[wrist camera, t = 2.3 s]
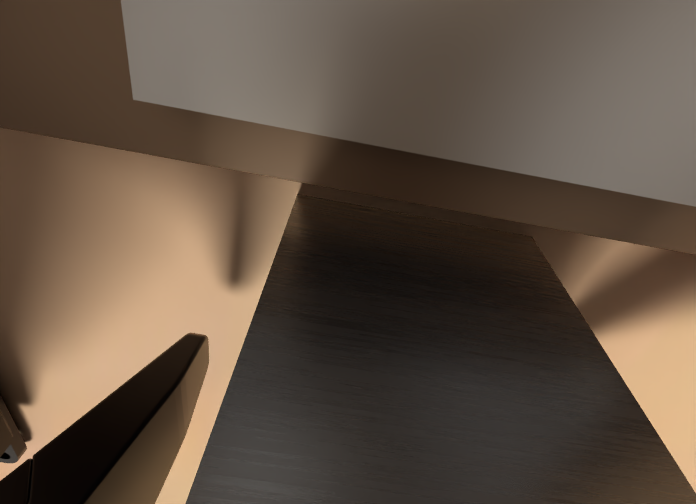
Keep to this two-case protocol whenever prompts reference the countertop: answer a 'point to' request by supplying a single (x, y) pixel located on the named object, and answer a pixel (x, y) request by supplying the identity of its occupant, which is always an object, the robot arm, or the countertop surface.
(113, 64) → the base
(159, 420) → the robot arm
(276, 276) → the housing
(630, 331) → the countertop surface
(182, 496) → the countertop surface
